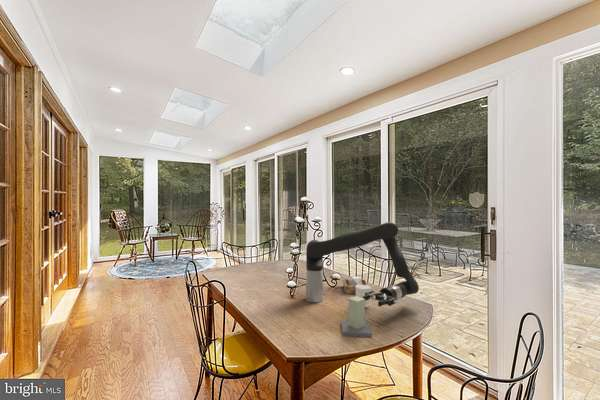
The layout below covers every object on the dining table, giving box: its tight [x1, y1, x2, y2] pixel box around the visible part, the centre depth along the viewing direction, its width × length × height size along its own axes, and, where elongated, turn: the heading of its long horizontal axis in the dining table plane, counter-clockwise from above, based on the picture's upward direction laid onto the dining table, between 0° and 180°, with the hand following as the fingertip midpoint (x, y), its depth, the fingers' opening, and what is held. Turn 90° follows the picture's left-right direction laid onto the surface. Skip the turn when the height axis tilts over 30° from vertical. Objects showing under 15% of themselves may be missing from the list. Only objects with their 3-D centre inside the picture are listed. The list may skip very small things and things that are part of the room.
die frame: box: [342, 278, 369, 295], centre depth 189 cm, size 14×15×4 cm
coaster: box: [340, 319, 373, 338], centre depth 133 cm, size 12×12×2 cm
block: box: [348, 295, 366, 329], centre depth 134 cm, size 5×5×12 cm
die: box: [348, 275, 363, 286], centre depth 189 cm, size 8×9×10 cm
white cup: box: [355, 284, 372, 308], centre depth 163 cm, size 8×8×10 cm
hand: (370, 301), depth 140 cm, fingers open, 8 cm apart
